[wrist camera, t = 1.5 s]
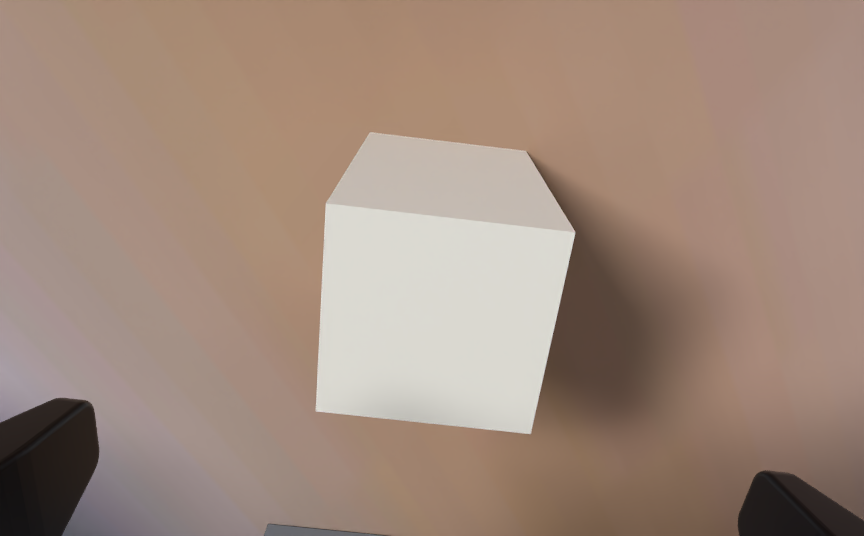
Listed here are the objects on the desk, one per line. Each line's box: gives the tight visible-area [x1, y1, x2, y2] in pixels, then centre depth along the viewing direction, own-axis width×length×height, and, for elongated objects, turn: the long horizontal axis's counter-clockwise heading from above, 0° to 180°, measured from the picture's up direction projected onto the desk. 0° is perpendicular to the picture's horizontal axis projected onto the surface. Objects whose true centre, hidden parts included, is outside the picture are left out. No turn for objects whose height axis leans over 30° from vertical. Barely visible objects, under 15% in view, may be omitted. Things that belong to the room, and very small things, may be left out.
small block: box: [316, 132, 576, 434], centre depth 15 cm, size 4×4×7 cm
